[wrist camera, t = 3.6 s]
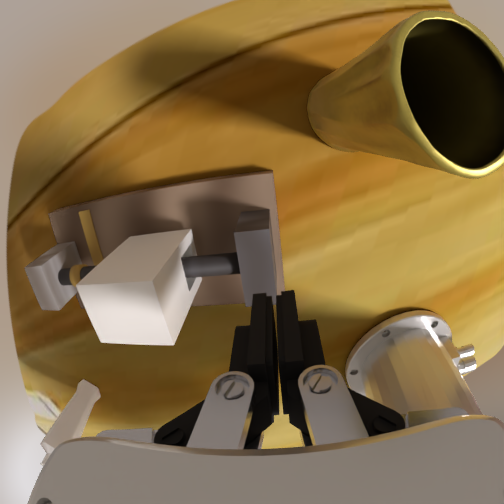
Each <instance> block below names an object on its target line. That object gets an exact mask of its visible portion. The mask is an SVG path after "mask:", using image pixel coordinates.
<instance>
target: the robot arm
mask: <svg viewBox="0 0 504 504" xmlns="http://www.w3.org/2000/svg"><path fill="white" fill-rule="evenodd" d="M276 309H277V336H278V348H277V338H276V328H275V319H274V310H273V301H272V296H267V294H266V293H257V294H253V298H252V310H251V322H250V325H248V326H236V329H235V335H234V341H233V348H232V355H231V362H230V369H229V372H227V373H224V374H222V375H220V376H218V377H217V378H216V379H215V380H214V381H213V383H212V384H211V387H210V389H209V392H208V394H207V397H206V399H205V400H203V401H202V402H200V403H199V404H197V405H196V406H194V407H193V408H191V409H189V410H188V411H186V412H185V413H183V414H181V415H180V416H178V417H176V418H175V419H173V420H172V421H170V422H168V423H167V424H165V425H163V426H162V427H161V428H159V429H158V430H153V429H152V428H144V429H125V430H105V431H102V432H100V433H98V434H97V436H96V437H82V438H74V439H70V440H67V441H64V442H63V443H61V444H59V445H58V446H57V447H56V448H55V449H54V450H53V452H52V453H51V454H50V456H49V458H48V459H47V461H46V463H45V464H44V466H43V468H42V470H41V473H40V474H39V477H38V479H37V481H36V483H35V486H34V488H33V490H32V493H31V496H30V498H29V501H28V504H504V423H503V422H502V421H501V420H499V419H497V418H495V417H492V416H487V415H483V414H482V412H481V410H480V408H479V406H478V404H477V402H476V400H475V398H474V396H473V395H472V393H471V391H470V389H469V387H468V385H467V384H466V382H465V380H464V378H463V376H462V375H463V374H466V373H469V372H472V371H474V370H475V368H476V360H475V358H474V357H473V356H472V355H473V354H474V346H473V345H472V344H469V345H465V346H462V347H461V348H457V347H454V345H453V344H452V333H451V330H450V327H449V326H448V324H447V323H446V321H445V320H444V319H443V318H442V317H441V316H440V315H438V314H436V313H434V312H430V311H426V310H415V311H410V312H405V313H402V314H399V315H396V316H393V317H391V318H389V319H387V320H385V321H383V322H381V323H380V324H378V325H377V326H375V327H374V328H372V329H371V330H370V331H369V332H368V333H366V334H365V335H364V336H363V337H362V338H361V339H360V340H359V342H358V343H357V344H356V345H355V346H354V348H353V349H352V351H351V352H350V354H349V357H348V359H347V362H346V367H345V373H346V379H347V383H348V385H349V387H350V388H348V387H347V386H346V384H345V381H344V379H343V377H342V375H341V374H340V372H339V371H338V370H337V369H335V368H334V367H331V366H328V365H325V360H324V355H323V350H322V345H321V341H320V336H319V331H318V326H317V322H316V320H306V321H298V314H297V307H296V300H295V293H294V290H290V291H281V295H276ZM461 358H462V359H461ZM278 362H279V373H280V383H281V393H282V403H283V413H284V414H289V420H290V423H291V424H292V425H294V426H295V427H297V428H298V429H299V430H300V436H301V440H302V444H303V447H293V448H278V449H261V447H262V442H263V438H264V430H265V429H266V428H268V427H269V426H270V425H271V424H272V423H274V415H279V380H278Z"/></svg>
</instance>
